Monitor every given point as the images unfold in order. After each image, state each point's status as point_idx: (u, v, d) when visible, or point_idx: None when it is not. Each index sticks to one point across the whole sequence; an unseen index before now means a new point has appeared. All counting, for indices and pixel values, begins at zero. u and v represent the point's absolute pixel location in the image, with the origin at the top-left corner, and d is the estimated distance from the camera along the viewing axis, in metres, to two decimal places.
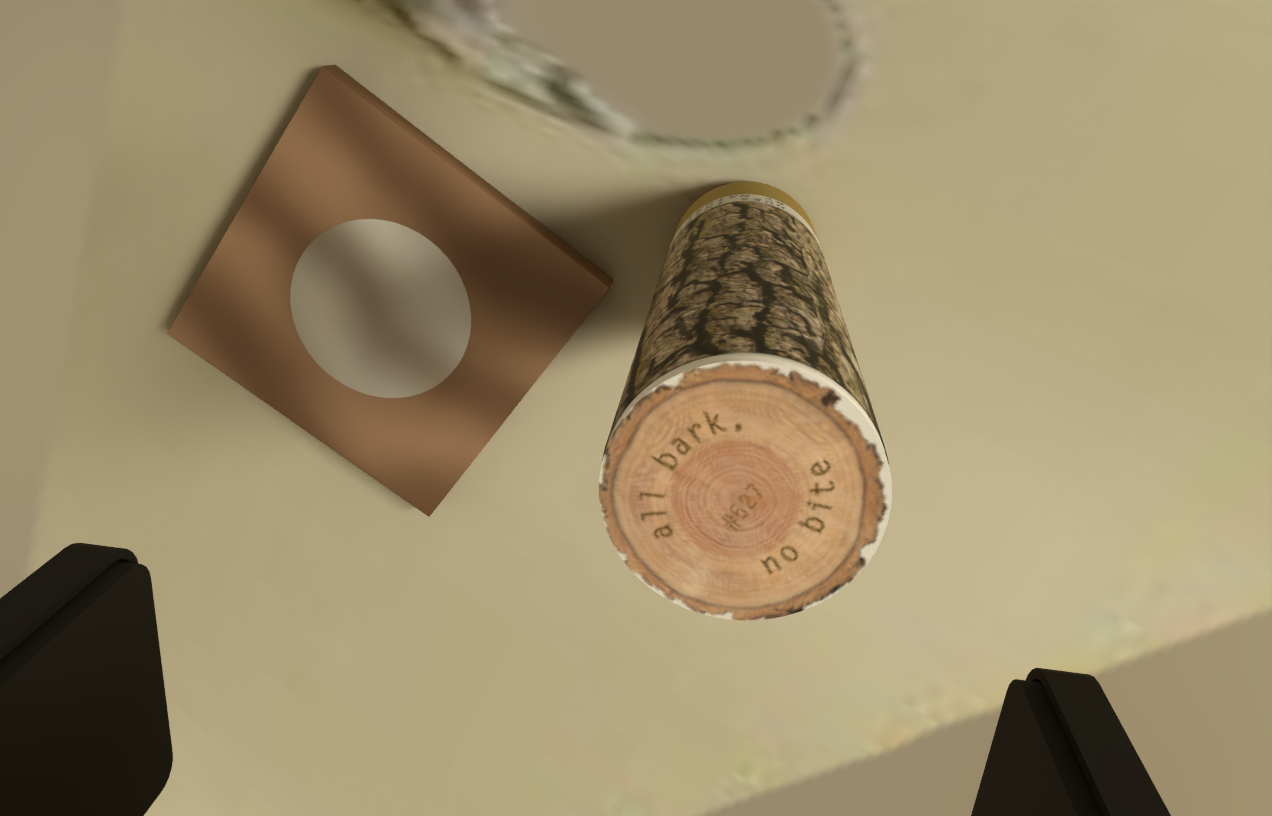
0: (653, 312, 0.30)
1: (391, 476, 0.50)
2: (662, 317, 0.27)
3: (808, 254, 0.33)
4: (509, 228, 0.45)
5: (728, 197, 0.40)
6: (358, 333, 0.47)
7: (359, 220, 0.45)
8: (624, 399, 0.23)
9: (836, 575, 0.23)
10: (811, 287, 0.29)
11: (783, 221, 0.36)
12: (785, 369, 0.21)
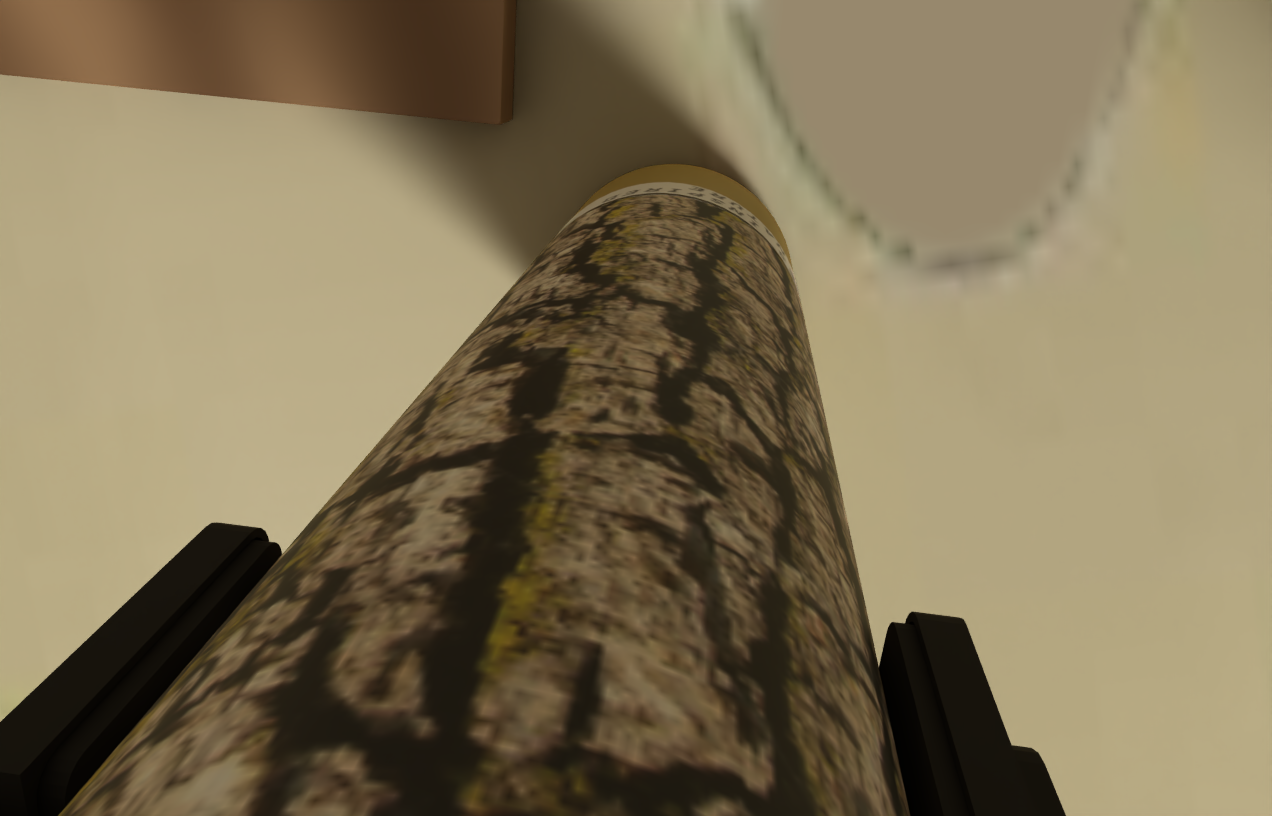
0: (598, 341, 0.12)
1: None
2: (638, 424, 0.09)
3: None
4: None
5: (763, 227, 0.23)
6: None
7: None
8: (396, 705, 0.05)
9: None
10: None
11: None
12: None
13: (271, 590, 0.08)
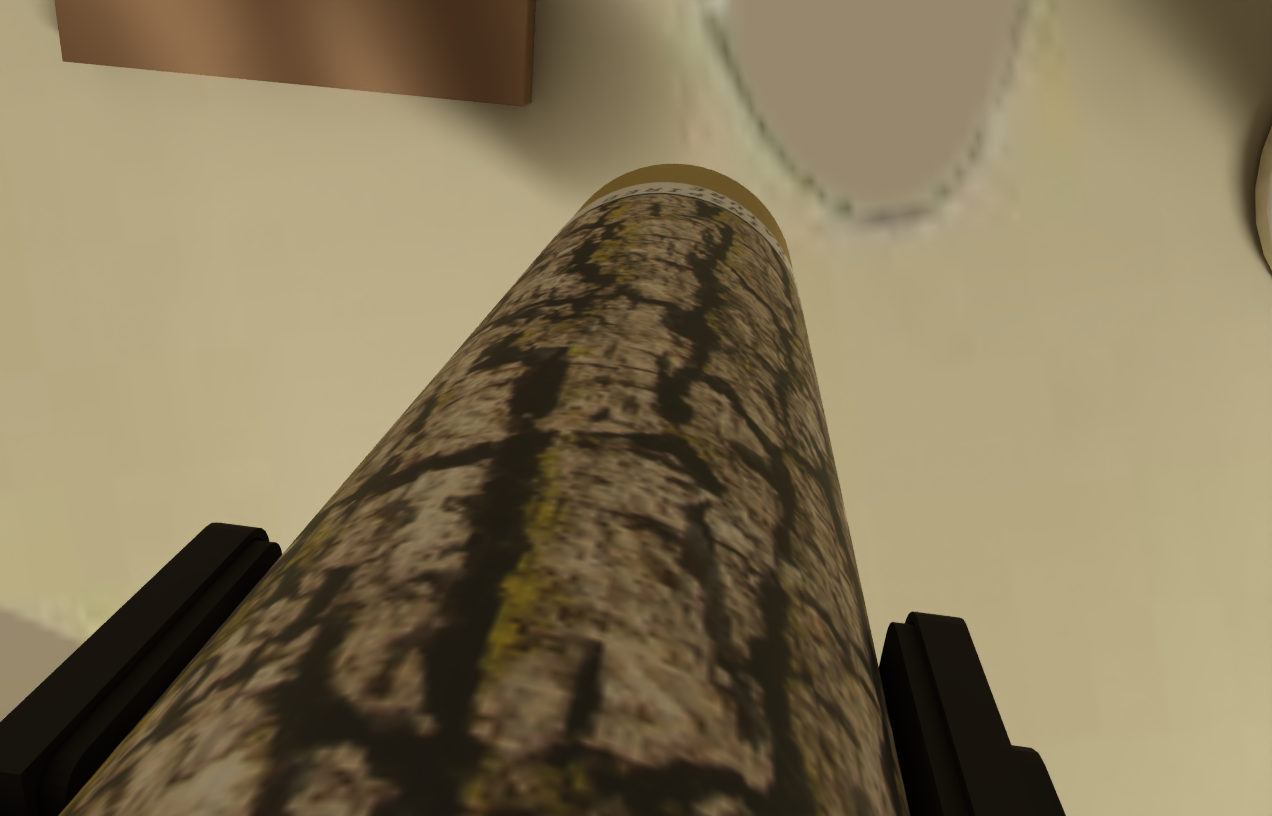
0: (598, 341, 0.12)
1: None
2: (638, 423, 0.10)
3: None
4: None
5: (763, 226, 0.23)
6: None
7: None
8: (397, 703, 0.06)
9: None
10: None
11: None
12: None
13: (272, 589, 0.08)
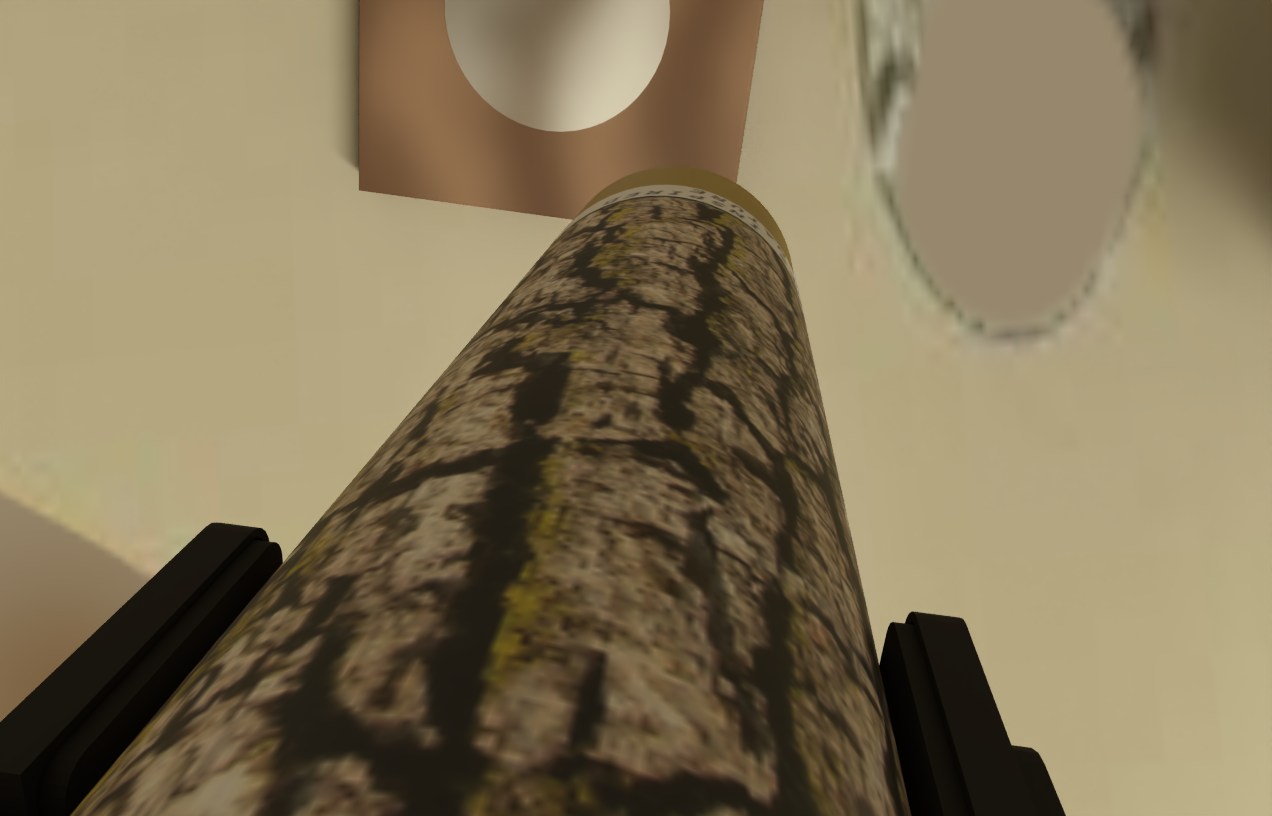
0: (600, 346, 0.12)
1: (375, 124, 0.40)
2: (641, 430, 0.09)
3: None
4: (730, 107, 0.39)
5: (764, 229, 0.23)
6: (515, 0, 0.38)
7: None
8: (400, 715, 0.05)
9: None
10: None
11: None
12: None
13: (275, 597, 0.08)
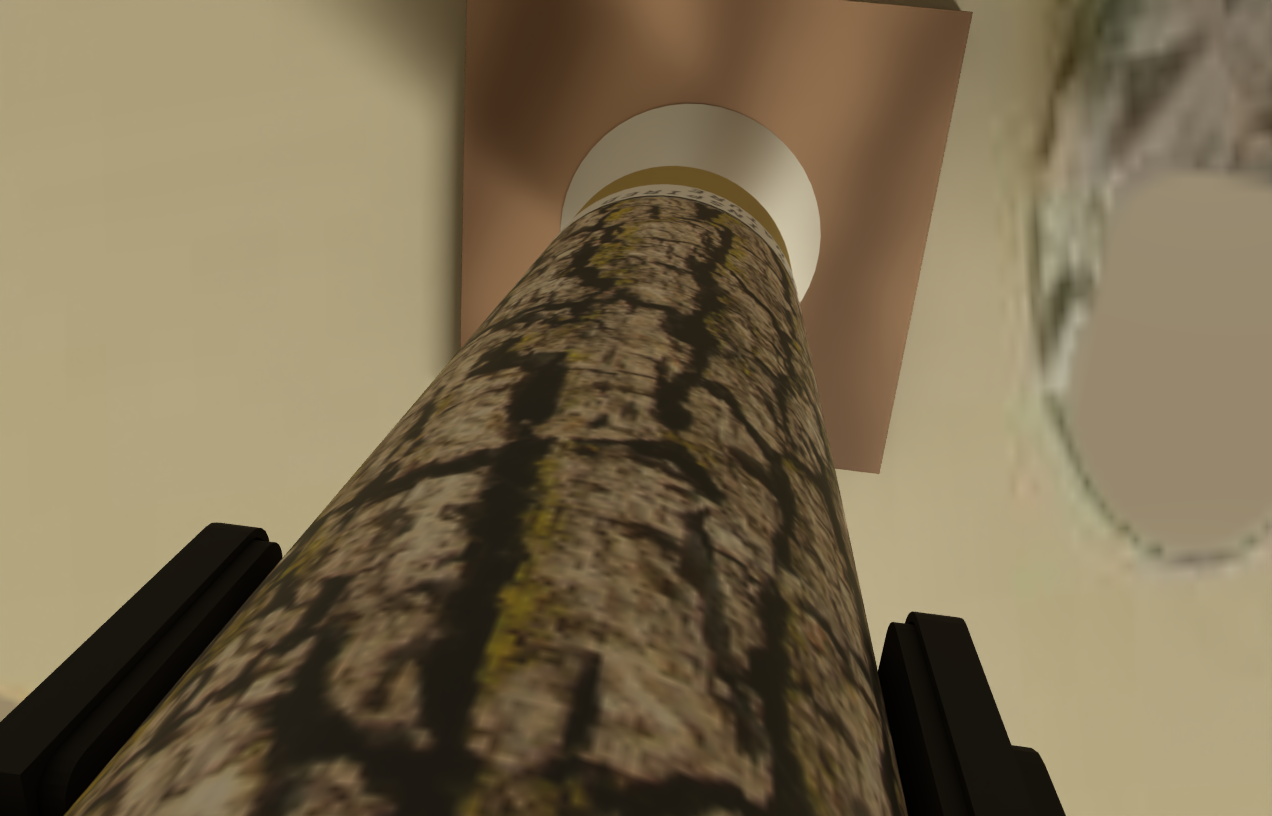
0: (597, 345, 0.12)
1: None
2: (637, 430, 0.09)
3: None
4: (887, 336, 0.34)
5: (763, 229, 0.23)
6: None
7: (794, 156, 0.32)
8: (393, 716, 0.05)
9: None
10: None
11: None
12: None
13: (269, 598, 0.08)
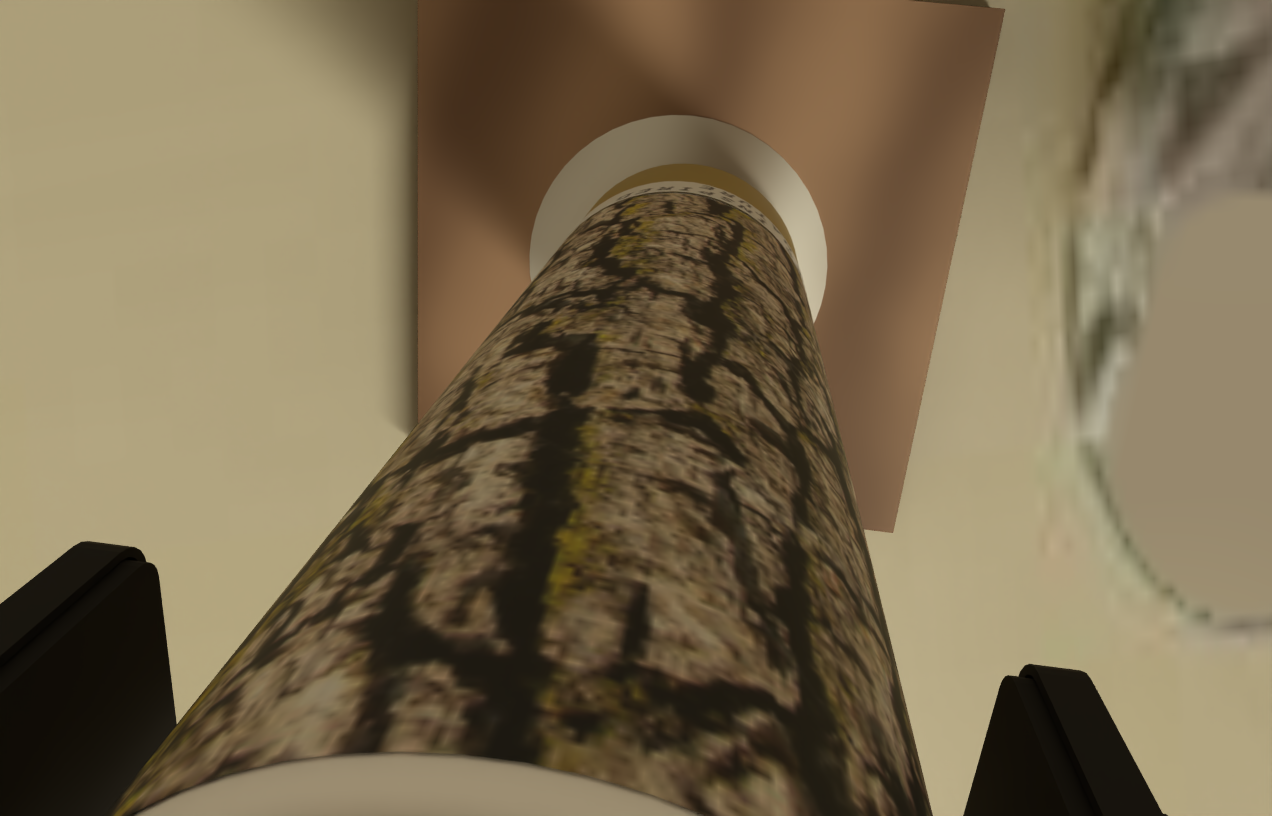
0: (624, 328, 0.13)
1: None
2: (666, 401, 0.10)
3: None
4: (903, 380, 0.30)
5: (771, 224, 0.24)
6: None
7: (796, 176, 0.28)
8: (474, 630, 0.06)
9: None
10: None
11: None
12: None
13: (342, 545, 0.08)
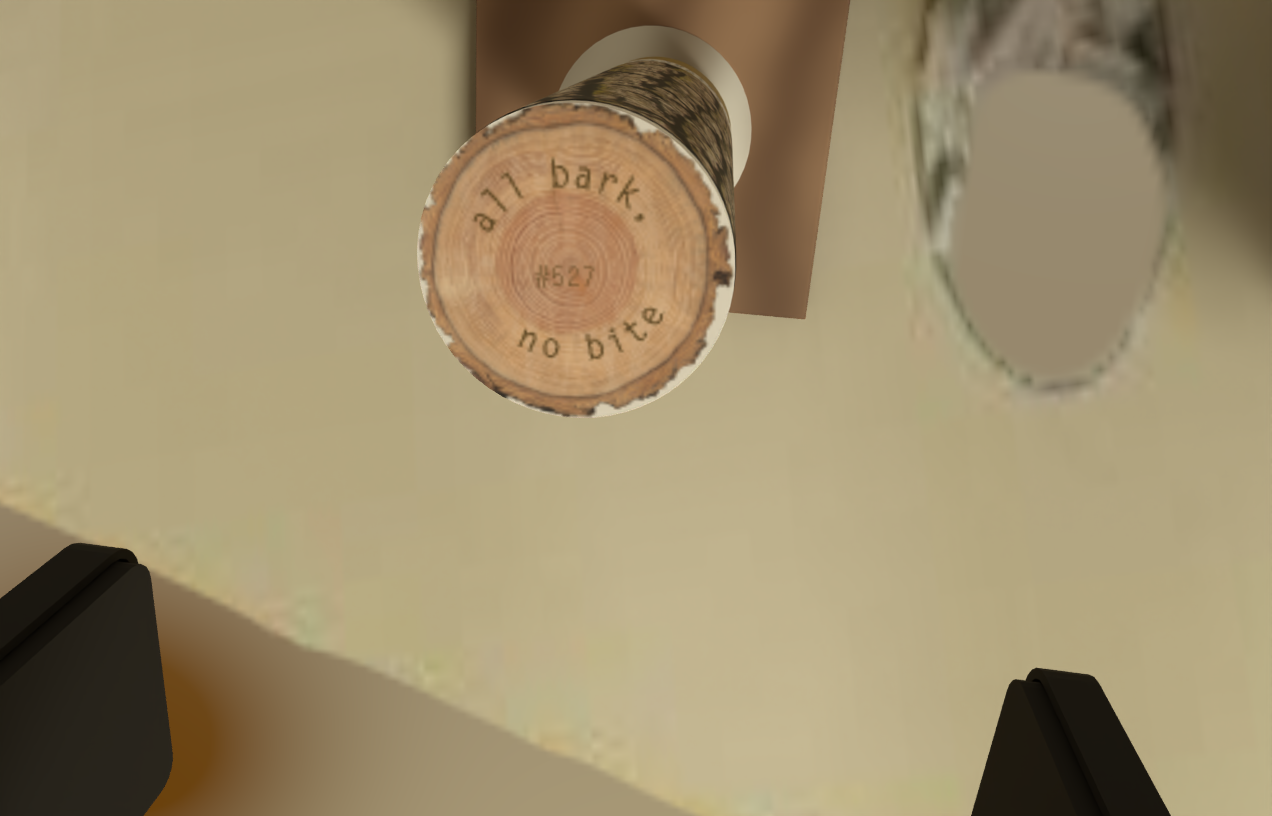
0: (616, 76, 0.27)
1: None
2: (634, 85, 0.25)
3: None
4: (806, 206, 0.44)
5: (707, 84, 0.38)
6: None
7: (728, 65, 0.42)
8: (571, 95, 0.21)
9: (561, 401, 0.21)
10: None
11: None
12: (722, 220, 0.20)
13: None
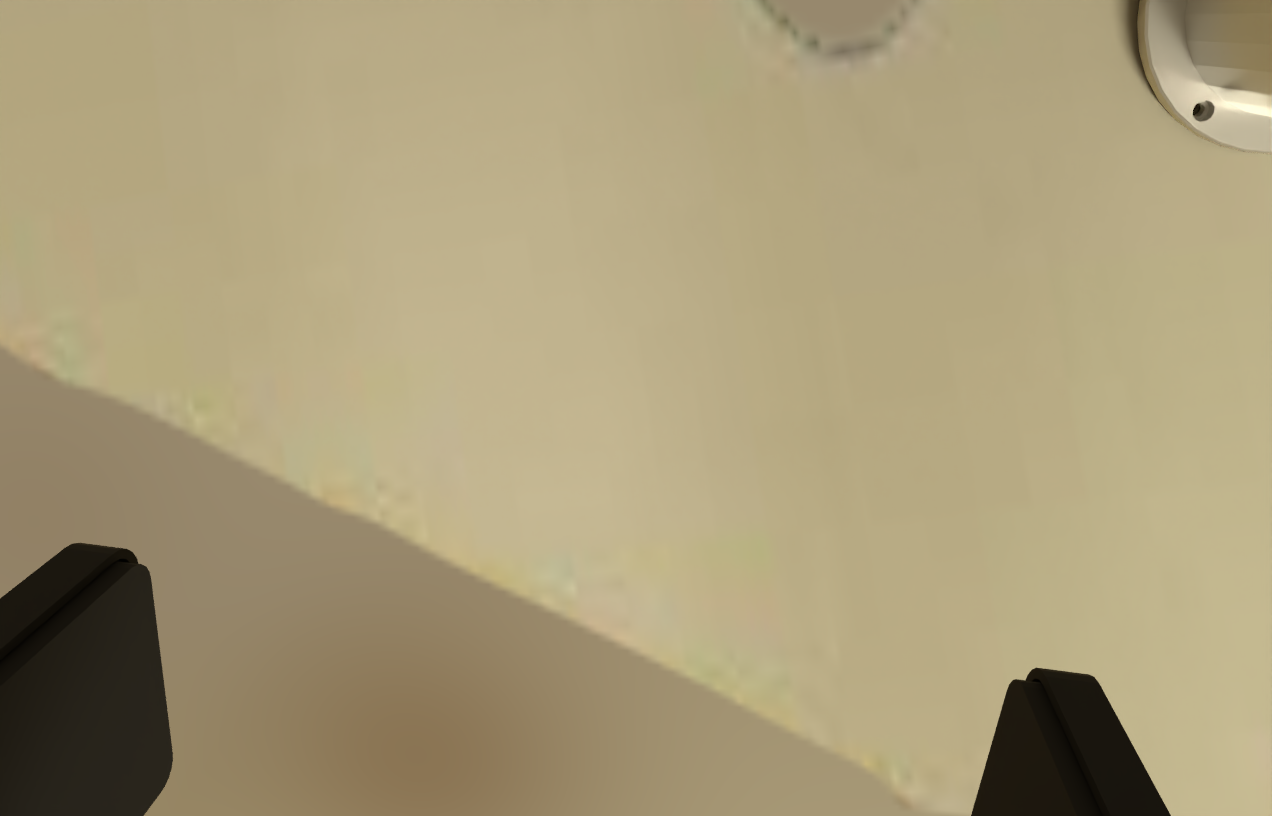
0: None
1: None
2: None
3: None
4: None
5: None
6: None
7: None
8: None
9: None
10: None
11: None
12: None
13: None
